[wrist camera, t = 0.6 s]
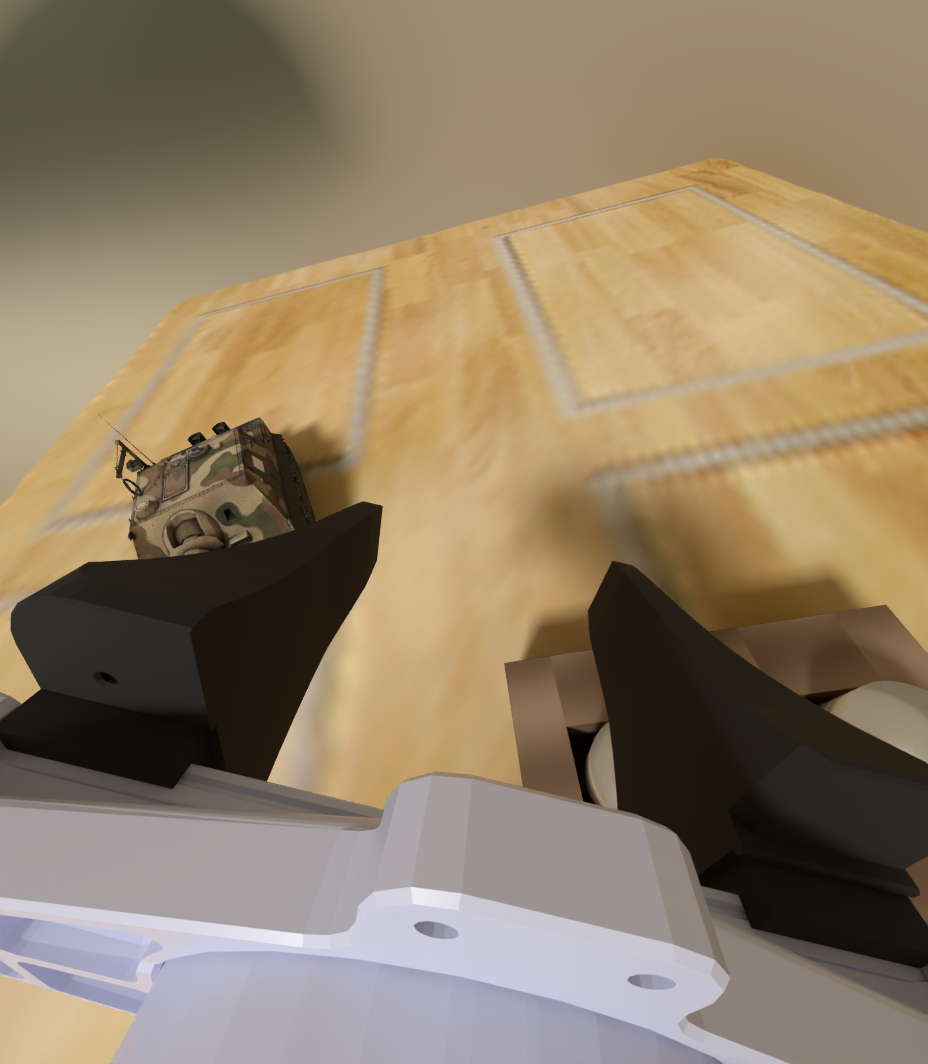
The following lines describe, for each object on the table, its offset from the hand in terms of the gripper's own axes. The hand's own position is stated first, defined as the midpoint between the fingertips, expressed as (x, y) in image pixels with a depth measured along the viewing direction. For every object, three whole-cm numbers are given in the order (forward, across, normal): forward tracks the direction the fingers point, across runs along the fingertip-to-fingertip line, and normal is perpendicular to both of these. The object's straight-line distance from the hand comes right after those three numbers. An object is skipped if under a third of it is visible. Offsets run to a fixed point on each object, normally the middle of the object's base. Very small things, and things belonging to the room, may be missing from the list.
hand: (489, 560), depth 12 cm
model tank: (+22, +22, +18) cm, 36 cm away
